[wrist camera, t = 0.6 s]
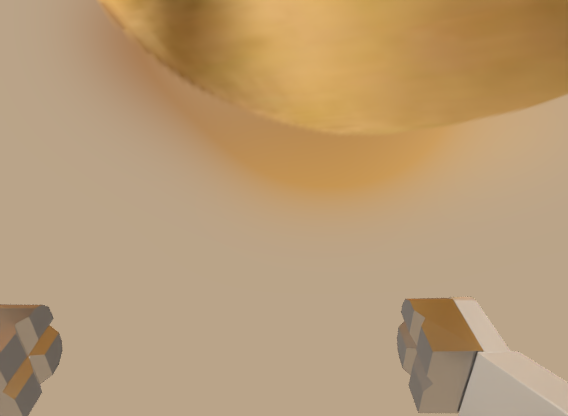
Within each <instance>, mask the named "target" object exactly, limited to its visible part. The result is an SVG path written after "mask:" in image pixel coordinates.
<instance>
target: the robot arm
mask: <svg viewBox="0 0 568 416" xmlns="http://www.w3.org/2000/svg"><path fill="white" fill-rule="evenodd" d="M401 313H402V315H403V318H404V322H403V323H402V324H401V325H400V326H399V328H398V336H397V345H398V353H399V358H400V361H401V364H402V368H403V369H404V370H405V371H407V372H408V373H409V374H410V375H411V377H410V382H409V388H410V391H411V393H412V396H413V399H414V402H415V405H416V407H417V410H418V413H459V414H458V415H459V416H568V382H566V381H565V380H563V379H562V378H560V377H558V376H557V375H555V374H554V373H552V372H550V371H549V370H547V369H546V368H544V367H543V366H541V365H539V364H537V363H536V362H534V361H533V360H531V359H530V358H528V357H526V356H525V355H523V354H522V353H520V352H519V351H511V350H510V349H509V347H508V346H507V345H506V343H505V342H504V340H503V339H502V337H501V336H500V334H499V333H498V331H497V330H496V329H495V327H494V326H493V324H492V323H491V321H490V320H489V318H488V317H487V315H486V314H485V313H484V311H483V310H482V309H481V307H480V305H479V304H478V302H477V301H476V300H475V299H474V298H472V297H450V298H427V299H425V298H423V299H405V301H404V302H403V305H402V311H401ZM52 320H53V316H52V313H51V312H50V309H49V307H47V306H45V305H7V304H0V416H28V415H29V413H30V411H31V410H32V408H33V407H34V405H35V403H36V402H37V400H38V398H39V397H40V395H41V393H42V390H41V385H40V384H41V383H42V382H44V381H45V380H46V379H48V378H49V377H50V376H52V375H53V373H54V372H55V370H56V368H57V366H58V365H59V362H60V358H61V354H62V340H61V337H60V334H59V332H57V331H56V330H55V329H53V328H52V327H51V326H50V323H51V322H52Z"/></svg>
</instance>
